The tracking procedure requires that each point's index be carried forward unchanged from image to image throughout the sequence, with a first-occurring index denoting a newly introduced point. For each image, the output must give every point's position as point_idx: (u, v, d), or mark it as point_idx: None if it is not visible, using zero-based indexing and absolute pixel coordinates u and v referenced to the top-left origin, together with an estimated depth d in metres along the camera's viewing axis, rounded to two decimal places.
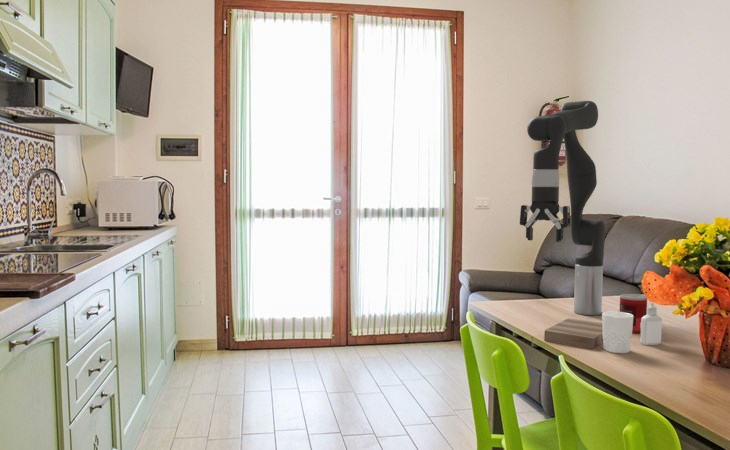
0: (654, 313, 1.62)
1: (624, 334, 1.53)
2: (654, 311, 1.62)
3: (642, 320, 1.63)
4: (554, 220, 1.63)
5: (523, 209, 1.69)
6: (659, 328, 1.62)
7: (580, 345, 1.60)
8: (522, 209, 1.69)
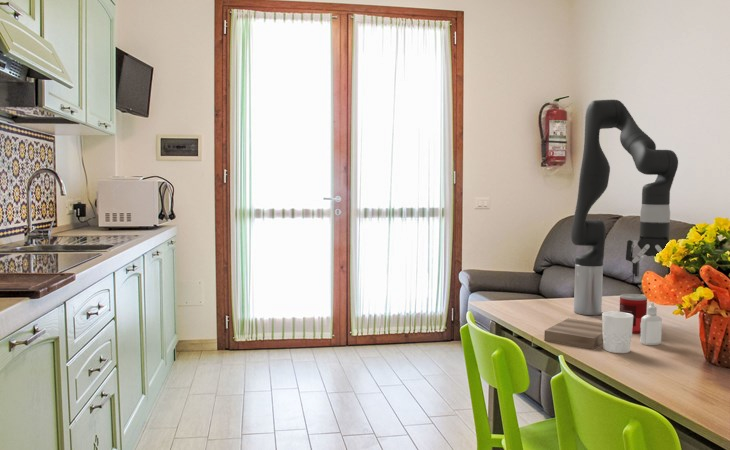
0: (654, 313, 1.62)
1: (624, 334, 1.53)
2: (654, 311, 1.62)
3: (642, 320, 1.63)
4: None
5: (630, 244, 1.65)
6: (659, 328, 1.62)
7: (580, 345, 1.60)
8: (629, 244, 1.65)
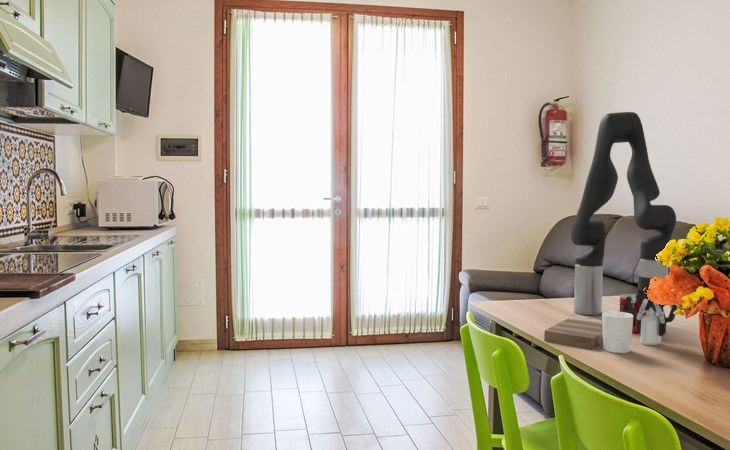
0: (654, 313, 1.62)
1: (624, 334, 1.53)
2: (654, 311, 1.62)
3: (642, 320, 1.63)
4: (660, 313, 1.60)
5: (629, 301, 1.65)
6: None
7: (580, 345, 1.60)
8: (628, 301, 1.66)
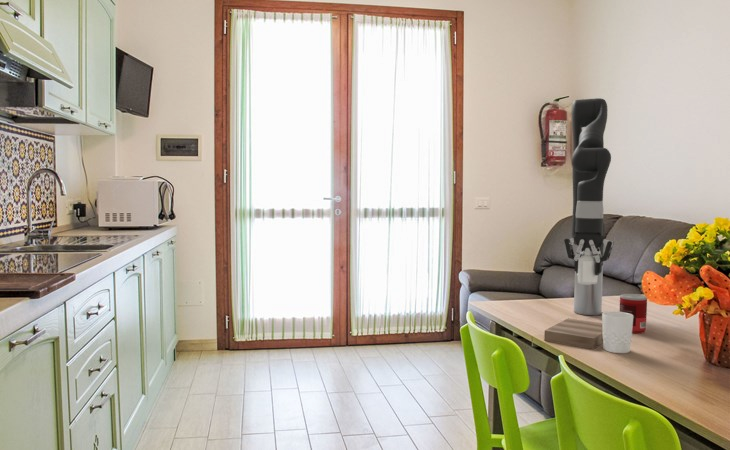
0: (590, 253, 1.67)
1: (624, 334, 1.53)
2: (590, 251, 1.67)
3: (579, 260, 1.67)
4: (595, 253, 1.65)
5: (567, 242, 1.70)
6: None
7: (580, 345, 1.60)
8: (566, 243, 1.70)
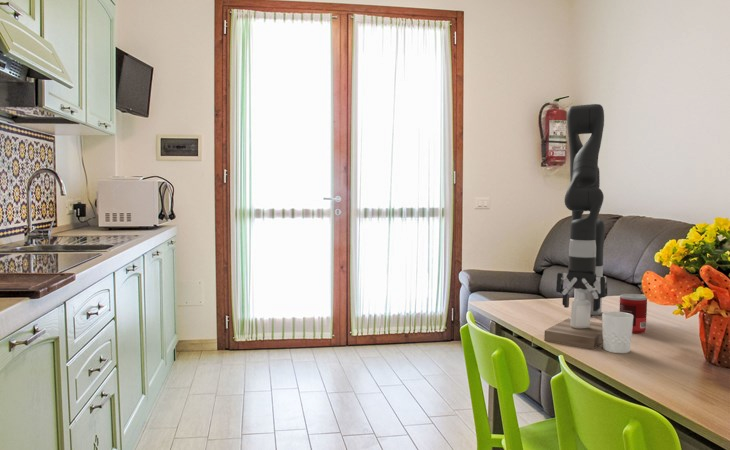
0: (584, 298, 1.68)
1: (624, 334, 1.53)
2: (584, 296, 1.68)
3: (572, 304, 1.69)
4: (591, 290, 1.66)
5: (560, 277, 1.72)
6: (588, 312, 1.69)
7: (580, 345, 1.60)
8: (559, 277, 1.72)
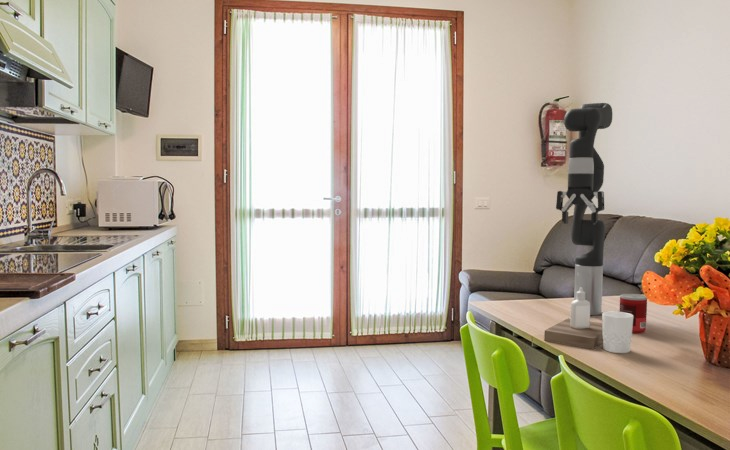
0: (583, 298, 1.68)
1: (624, 334, 1.53)
2: (583, 296, 1.68)
3: (572, 305, 1.69)
4: (589, 204, 1.76)
5: (559, 195, 1.82)
6: (587, 312, 1.69)
7: (580, 345, 1.60)
8: (558, 195, 1.83)
